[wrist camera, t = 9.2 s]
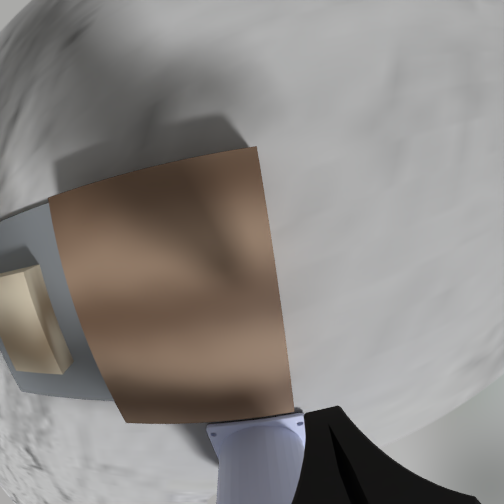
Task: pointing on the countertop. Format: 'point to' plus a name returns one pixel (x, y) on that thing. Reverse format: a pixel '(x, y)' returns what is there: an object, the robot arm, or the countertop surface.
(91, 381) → the grey flat slab
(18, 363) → the birch tile
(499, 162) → the countertop surface
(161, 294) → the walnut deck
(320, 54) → the countertop surface
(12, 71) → the countertop surface
